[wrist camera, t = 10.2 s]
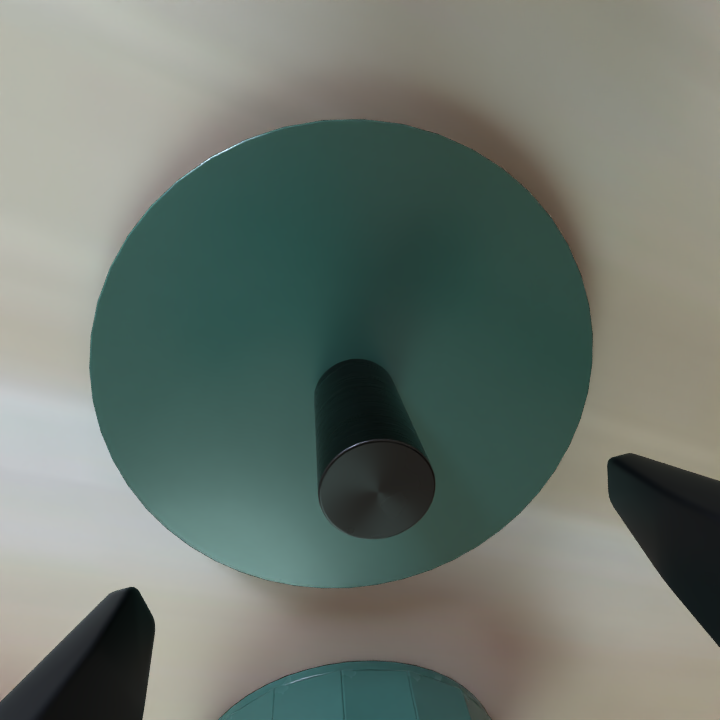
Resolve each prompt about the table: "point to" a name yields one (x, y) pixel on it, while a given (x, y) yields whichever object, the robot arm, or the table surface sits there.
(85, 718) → the robot arm
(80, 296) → the table surface
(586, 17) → the table surface
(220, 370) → the pot lid
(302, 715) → the pot
